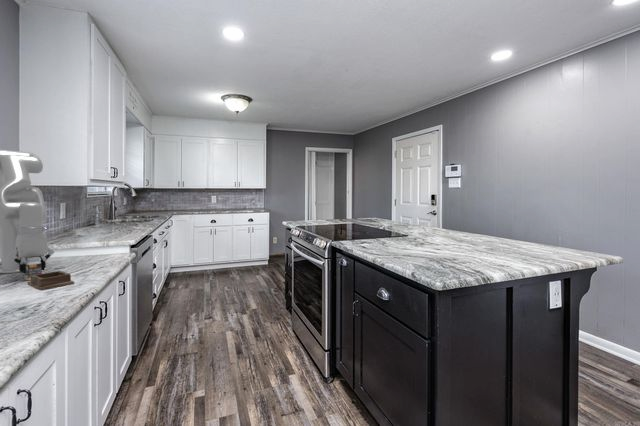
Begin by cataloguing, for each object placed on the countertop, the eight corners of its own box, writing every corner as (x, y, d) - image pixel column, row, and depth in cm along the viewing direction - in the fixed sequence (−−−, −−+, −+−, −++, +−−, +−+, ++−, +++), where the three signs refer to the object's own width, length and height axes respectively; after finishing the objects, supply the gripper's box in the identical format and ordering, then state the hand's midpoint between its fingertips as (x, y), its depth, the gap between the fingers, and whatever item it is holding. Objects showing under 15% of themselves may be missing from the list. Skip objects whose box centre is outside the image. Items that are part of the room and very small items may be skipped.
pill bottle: (31, 281, 134) (30, 258, 134) (20, 280, 135) (19, 257, 135) (45, 277, 140) (44, 255, 139) (35, 276, 141) (34, 255, 140)
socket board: (27, 284, 129) (27, 275, 129) (59, 278, 139) (59, 269, 138) (41, 290, 122) (40, 280, 122) (74, 283, 132) (74, 274, 131)
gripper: (52, 228, 146) (53, 266, 147) (1, 232, 131) (3, 274, 132) (59, 229, 142) (60, 268, 143) (7, 233, 127) (9, 276, 128)
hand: (32, 270), depth 137 cm, fingers closed on pill bottle, 5 cm apart
